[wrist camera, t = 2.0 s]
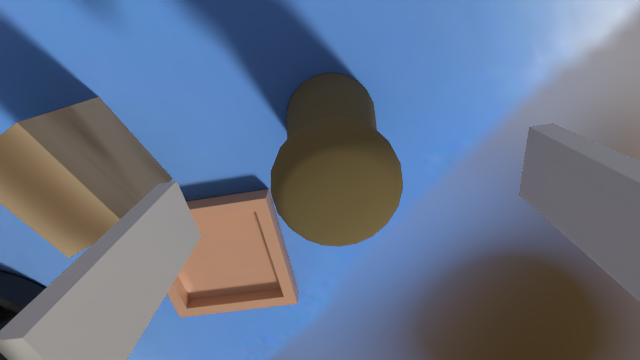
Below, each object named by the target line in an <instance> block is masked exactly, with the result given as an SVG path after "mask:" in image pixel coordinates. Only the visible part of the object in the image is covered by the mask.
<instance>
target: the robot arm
mask: <svg viewBox="0 0 640 360" xmlns="http://www.w3.org/2000/svg"><path fill="white" fill-rule="evenodd" d="M519 195H520V196H521V197H522V198H523V199H525V200H526V201H527V202H528V203H529V204H530V205H531V206H532V207H534V208H535V209H536V210H537V211H538V212H539V213H540V214H541V215H543V216H544V217H545V218H546V219H547V220H548V221H549V222H551V223H552V224H553V225H554V226H555V227H556V228H557V229H558V230H559V231H561V232H562V233H563V234H564V235H565V236H566V237H567V238H569V239H570V240H571V241H572V242H573V243H574V244H575V245H576V246H577V247H579V248H580V249H581V250H582V251H583V252H584V253H586V254H587V255H588V256H589V257H590V258H591V259H593V261H594V262H596V263H597V264H598V265H599V266H600V267H601V268H602V269H604V270H605V271H606V272H607V273H608V274H609V275H610V276H611V277H612V278H614V279H615V280H616V281H617V282H618V283H619V284H620V285H621V286H623V287H624V288H625V289H626V290H627V291H628V292H629V293H631V294H632V295H633V296H634V297H635V298H636V299H637V300H638V301H640V161H637V160H635V159H633V158H631V157H628V156H626V155H624V154H621V153H619V152H617V151H614V150H612V149H610V148H607V147H605V146H603V145H601V144H598V143H596V142H594V141H592V140H589V139H587V138H585V137H582V136H580V135H578V134H576V133H573V132H571V131H569V130H566V129H564V128H562V127H559V126H557V125H555V124H546V125H540V126H533V127H529V132H528V138H527V146H526V152H525V159H524V165H523V172H522V179H521V185H520V192H519ZM200 238H201V234H200V232H199V230H198V227H197V225H196V223H195V221H194V218H193V216H192V214H191V212H190V210H189V207H188V205H187V203H186V201H185V198H184V196H183V194H182V192H181V189H180V187H179V185H178V183H177V181H173V182H166V183H160V184H158V185H157V186H156V187H154V188H153V189H152V190H151V191H150V192H149V193H148V194H147V195H146V196H145V197H144V198H143V199H142V200H140V201H139V202H138V203H137V204H136V205H135V206H134V207H133V208H132V209H131V210H130V211H129V212H128V213H126V214H125V215H124V216H123V217H122V218H121V219H120V220H119V221H118V222H117V223H116V224H115V225H113V226H112V227H111V228H110V229H109V230H108V231H107V232H106V233H105V234H104V235H103V236H102V237H101V238H99V239H98V240H97V241H96V242H95V243H94V244H93V245H92V246H91V247H90V248H89V249H88V250H86V251H85V252H84V253H83V254H82V255H81V256H80V257H79V258H78V259H77V260H76V261H75V262H74V263H72V264H71V265H70V266H69V267H68V268H67V269H66V270H65V271H64V272H63V273H62V274H61V275H59V276H58V277H57V278H56V279H55V280H54V281H53V282H52V283H51V284H50V285H49V286H48V287H47V288H45V289H44V288H42V287H41V286H39V285H37V284H35V283H33V282H30V281H28V280H26V279H23V278H21V277H18V276H15V275H12V274H9V273H5V272H1V271H0V360H127V358H128V357H129V355H130V353H131V352H132V350H133V349H134V347H135V345H136V344H137V342H138V340H139V339H140V337H141V335H142V334H143V332H144V330H145V329H146V327H147V325H148V324H149V322H150V320H151V319H152V317H153V316H154V314H155V312H156V311H157V309H158V307H159V306H160V304H161V302H162V301H163V299H164V297H165V296H166V294H167V292H168V291H169V289H170V287H171V286H172V284H173V282H174V281H175V279H176V278H177V276H178V274H179V273H180V271H181V269H182V268H183V266H184V264H185V263H186V261H187V259H188V258H189V256H190V254H191V253H192V251H193V249H194V248H195V246H196V245H197V243H198V241H199V240H200Z"/></svg>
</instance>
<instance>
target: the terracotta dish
mask: <svg viewBox="0 0 640 360" xmlns="http://www.w3.org/2000/svg"><path fill="white" fill-rule="evenodd" d="M186 203H187V205H188V207H189V210H190V212H191V214H192V216H193V218H194V221H195V223H196V225H197V227H198V230H199V232H200V234H201V238H200V240H199V241H198V243H197V245H196V246H195V248H194V249H193V251H192V253H191V254H190V256H189V258H188V259H187V261H186V263H185V264H184V266H183V268H182V269H181V271H180V273H179V274H178V276H177V278H176V279H175V281H174V282H173V284H172V286H171V287H170V289H169V291H168V292H167V295H168V297H169V298H170V300H171V302H172V304H173V305H174V307H175V309H176V311H177V312H178V314H179V316H180V317H188V316H196V315H205V314H213V313H222V312H230V311H239V310H247V309H256V308H264V307H273V306H281V305H290V304H297V303H298V292H299V291H298V287H297V284H296V281H295V277H294V274H293V270H292V267H291V263H290V260H289V257H288V253H287V250H286V246H285V243H284V239H283V236H282V233H281V229H280V226H279V222H278V219H277V215H276V212H275V209H274V205H273V202H272V198H271V195H270V191H269V189H265V190H258V191H252V192H245V193H239V194H232V195H225V196H219V197H212V198H206V199H199V200H193V201H186Z"/></svg>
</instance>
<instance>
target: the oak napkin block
mask: <svg viewBox="0 0 640 360" xmlns="http://www.w3.org/2000/svg"><path fill="white" fill-rule="evenodd" d="M171 180H172V178H171V176H170V175H169V174H168V173H167V172H166V171H165V170H164V169H163V168H162V166H161V165H160V164H159V163H158V162H157V161H156V160H155V159H154V157H153V156H152V155H151V154H150V153H149V152H148V151H147V150H146V149H145V147H144V146H143V145H142V144H141V143H140V142H139V141H138V140H137V139H136V137H135V136H134V135H133V134H132V133H131V132H130V131H129V130H128V128H127V127H126V126H125V125H124V124H123V123H122V122H121V121H120V120H119V118H118V117H117V116H116V115H115V114H114V113H113V112H112V111H111V110H110V108H109V107H108V106H107V105H106V104H105V103H104V102H103V101H102V100H101V98H100V97H96V98H93V99H90V100H87V101H84V102H80V103H77V104H74V105H71V106H68V107H64V108H61V109H58V110H55V111H52V112H48V113H45V114H42V115H39V116H36V117H32V118H29V119H26V120H23V121H20V122H17V123H15V124H14V125H13V126H12V127H10V128H9V129H8V130H6V131H5V132H4V133H3V134H1V135H0V203H1V204H2V205H3V206H4V207H6V208H7V209H8V210H9V211H10V212H12V213H13V214H14V215H15V216H17V217H18V218H19V219H20V220H22V221H23V222H24V223H25V224H27V225H28V226H29V227H30V228H32V229H33V230H34V231H35V232H37V233H38V234H39V235H40V236H42V237H43V238H44V239H45V240H47V241H48V242H49V243H50V244H52V245H53V246H54V247H55V248H57V249H58V250H59V251H60V252H62V253H63V254H64V255H65V256H67V257H68V258H70V257H71V256H73V255H75V254H77V253H78V252H80V251H82V250H84V249H85V248H87V247H89V246H91V245H92V244H94V243H95V242H96V241H97V240H98V239H99V238H101V237H102V236H103V235H104V234H105V233H106V232H107V231H108V230H109V229H110V228H111V227H112V226H113V225H115V224H116V223H117V222H118V221H119V220H120V219H121V218H122V217H123V216H124V215H125V214H126V213H128V212H129V211H130V210H131V209H132V208H133V207H134V206H135V205H136V204H137V203H138V202H139V201H140V200H142V199H143V198H144V197H145V196H146V195H147V194H148V193H149V192H150V191H151V190H152V189H153V188H154V187H156V186H157V185H158V184H160V183H166V182H170V181H171Z"/></svg>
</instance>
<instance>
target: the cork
mask: <svg viewBox="0 0 640 360" xmlns="http://www.w3.org/2000/svg"><path fill="white" fill-rule="evenodd" d="M286 123H287V138H288V139H287V140H286V142H285V143H284V144H283V145H282V146H281V147H280V150H279V152H278V155H277V157H276V160H275V162H274V165H273V167H272V170H271V194H272V198H273V201H274V203H275V206H276V209H277V212H278V214H279V215H280V216H281V218H282V219H283V220H284V221H285V223H286V224H287V225H288V226H289V227H290V228H291V229H292V230H293V231H295V232H296V233H298V234H299V235H300V236H302V237H303V238H305V239H306V240H309V241H312V242H315V243H318V244H321V245H328V246H345V245H350V244H356V243H359V242H361V241H363V240H365V239H367V238H370V237H372V236H373V235H374V234H376V233H377V232H378V231H379V230H380V229H382V228H383V227H384V226H385V225H386V224H387V223H388V222H389V220H390V218H391V217H392V215H393V214H394V212H395V211H396V209H397V208H398V205H399V201H400V197H401V193H402V189H403V181H402V173H401V164H400V162H399V160H398V158H397V156H396V154H395V152H394V150H393V148H392V146H391V145H390V143H389V142H388V140H387V139H385V138H384V137H383V136H382V135H381V134H380V133H379V132H378V131H377V129H376V119H375V111H374V104H373V101H372V99H371V97H370V95H369V93H368V92H367V90H366V89H365V88H364V87H363V86H362V85H361V84H360V83H359V82H358V81H357V80H355V79H353V78H350V77H348V76H346V75H344V74H337V73H325V74H321V75H316V76H313V77H311V78H310V79H308V80H307V81H305V82H304V83H302V84H301V85H300V86H299V87H298V88H297V90H296V91H295V92H294V93H293V95H292V96H291V99H290V102H289V104H288V107H287V121H286Z"/></svg>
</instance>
